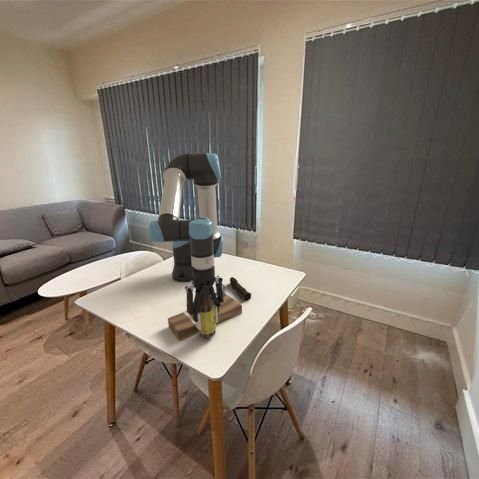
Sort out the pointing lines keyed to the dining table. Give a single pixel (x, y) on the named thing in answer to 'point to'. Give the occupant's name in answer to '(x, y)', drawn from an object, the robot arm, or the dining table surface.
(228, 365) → the dining table surface
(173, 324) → the walnut plank
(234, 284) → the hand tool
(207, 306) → the sauce bottle
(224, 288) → the pliers
